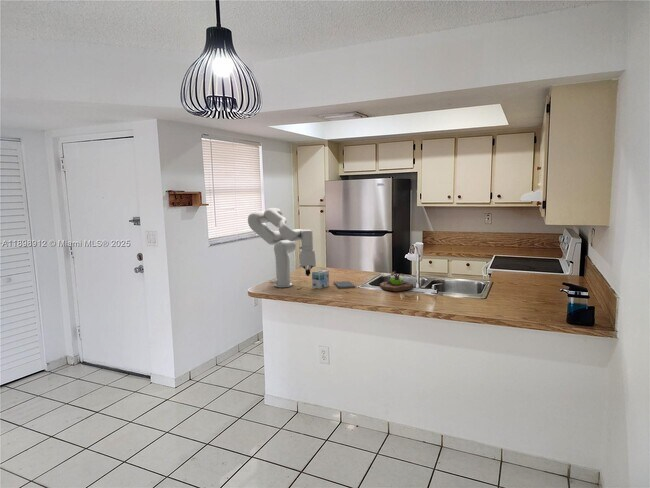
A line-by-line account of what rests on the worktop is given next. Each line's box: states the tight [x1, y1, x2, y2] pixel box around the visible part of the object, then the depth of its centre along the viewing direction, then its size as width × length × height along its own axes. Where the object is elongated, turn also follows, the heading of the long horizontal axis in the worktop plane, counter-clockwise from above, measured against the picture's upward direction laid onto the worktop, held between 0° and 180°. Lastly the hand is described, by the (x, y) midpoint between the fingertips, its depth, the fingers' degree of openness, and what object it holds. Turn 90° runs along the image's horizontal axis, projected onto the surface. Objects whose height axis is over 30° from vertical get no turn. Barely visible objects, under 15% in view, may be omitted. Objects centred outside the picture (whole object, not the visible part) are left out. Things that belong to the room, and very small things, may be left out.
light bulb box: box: [311, 269, 330, 290], centre depth 272 cm, size 11×7×11 cm, turn 143°
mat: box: [333, 280, 356, 290], centre depth 274 cm, size 11×16×2 cm
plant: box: [379, 270, 414, 292], centre depth 266 cm, size 20×20×11 cm
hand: (308, 275), depth 270 cm, fingers closed
